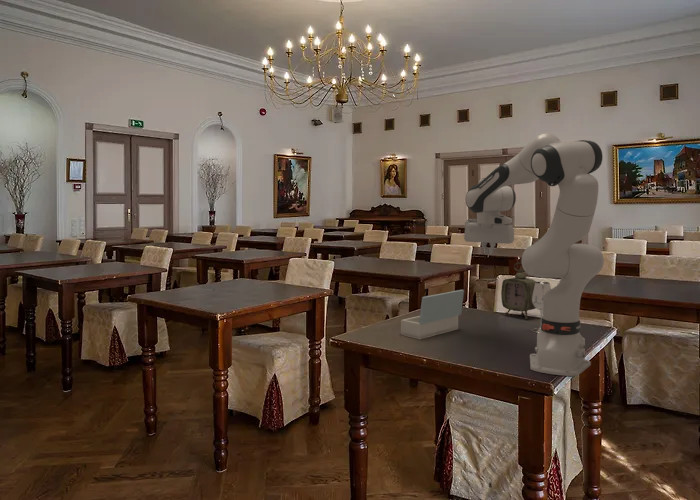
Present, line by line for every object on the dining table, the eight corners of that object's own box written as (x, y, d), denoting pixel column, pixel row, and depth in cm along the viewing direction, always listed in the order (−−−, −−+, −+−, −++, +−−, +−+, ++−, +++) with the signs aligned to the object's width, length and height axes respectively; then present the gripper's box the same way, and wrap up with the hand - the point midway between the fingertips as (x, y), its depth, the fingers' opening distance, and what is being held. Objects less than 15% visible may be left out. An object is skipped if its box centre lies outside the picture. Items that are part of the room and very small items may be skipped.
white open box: (458, 329, 221) (458, 314, 221) (419, 339, 206) (419, 324, 205) (439, 325, 229) (439, 311, 228) (400, 334, 213) (400, 319, 212)
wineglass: (539, 334, 212) (540, 284, 210) (527, 329, 219) (528, 281, 217) (555, 332, 214) (557, 283, 212) (543, 328, 221) (544, 280, 219)
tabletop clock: (500, 315, 247) (501, 262, 244) (513, 313, 252) (514, 260, 250) (527, 321, 235) (528, 264, 233) (539, 318, 240) (541, 263, 238)
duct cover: (459, 314, 221) (461, 314, 220) (419, 323, 205) (421, 324, 204) (462, 289, 219) (464, 290, 218) (422, 297, 203) (424, 297, 202)
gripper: (461, 219, 214) (461, 253, 215) (508, 219, 200) (508, 256, 201) (469, 218, 218) (469, 251, 220) (516, 219, 204) (515, 254, 206)
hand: (488, 254), depth 210 cm, fingers closed
